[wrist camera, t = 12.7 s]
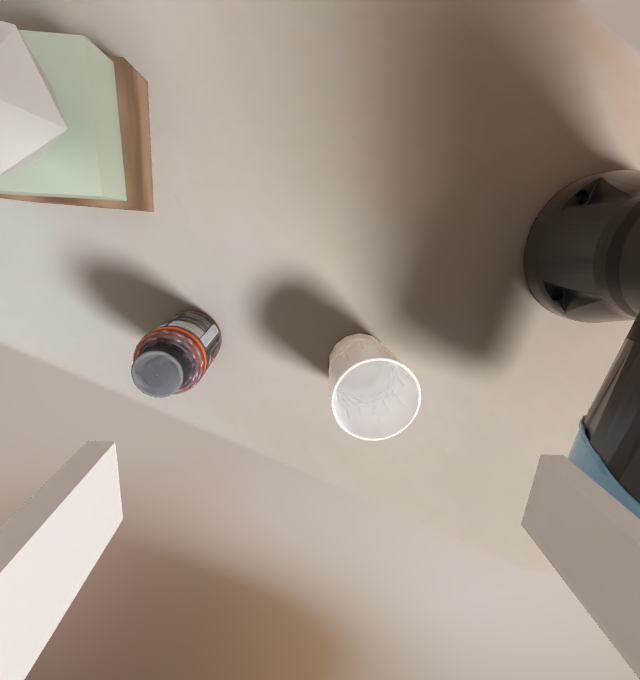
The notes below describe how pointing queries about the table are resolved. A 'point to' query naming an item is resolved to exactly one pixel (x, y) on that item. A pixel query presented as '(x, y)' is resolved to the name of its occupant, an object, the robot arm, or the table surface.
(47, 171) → the sage block
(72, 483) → the robot arm
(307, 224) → the table surface
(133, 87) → the walnut slab
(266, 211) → the table surface
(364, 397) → the white cup
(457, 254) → the table surface
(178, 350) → the supplement bottle
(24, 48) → the die
